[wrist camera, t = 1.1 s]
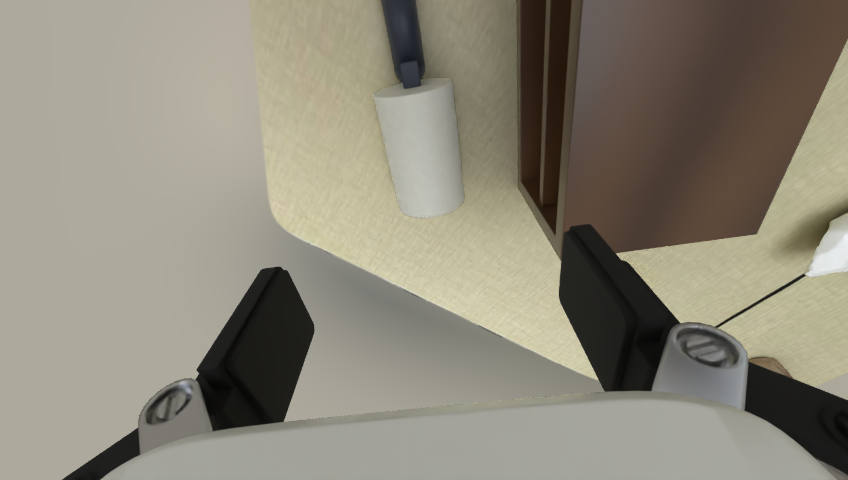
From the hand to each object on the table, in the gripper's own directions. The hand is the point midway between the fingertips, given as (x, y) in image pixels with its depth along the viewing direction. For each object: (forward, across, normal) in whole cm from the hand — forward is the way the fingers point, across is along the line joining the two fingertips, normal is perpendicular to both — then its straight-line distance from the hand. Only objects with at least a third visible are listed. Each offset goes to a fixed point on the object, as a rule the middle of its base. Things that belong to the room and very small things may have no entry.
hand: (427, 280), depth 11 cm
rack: (+19, -14, -2) cm, 24 cm away
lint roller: (+19, 0, -3) cm, 20 cm away
